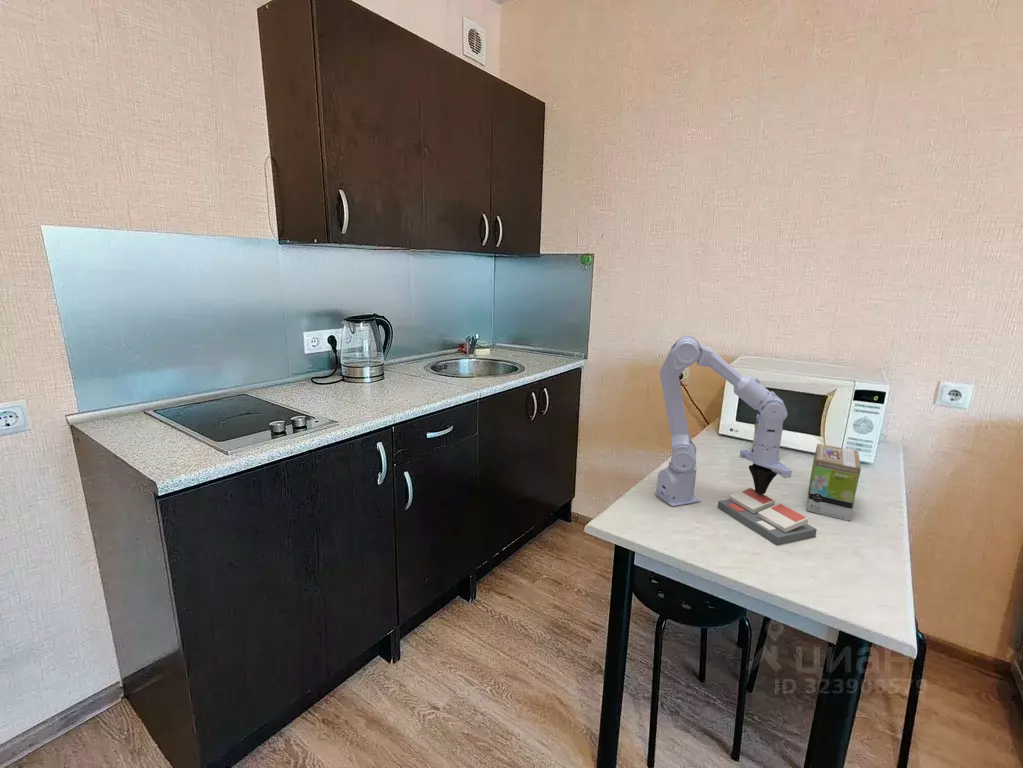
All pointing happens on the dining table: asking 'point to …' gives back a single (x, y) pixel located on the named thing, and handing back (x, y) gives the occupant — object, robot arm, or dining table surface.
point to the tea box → (833, 481)
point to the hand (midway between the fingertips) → (760, 492)
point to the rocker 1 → (752, 500)
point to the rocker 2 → (782, 517)
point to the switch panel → (765, 524)
